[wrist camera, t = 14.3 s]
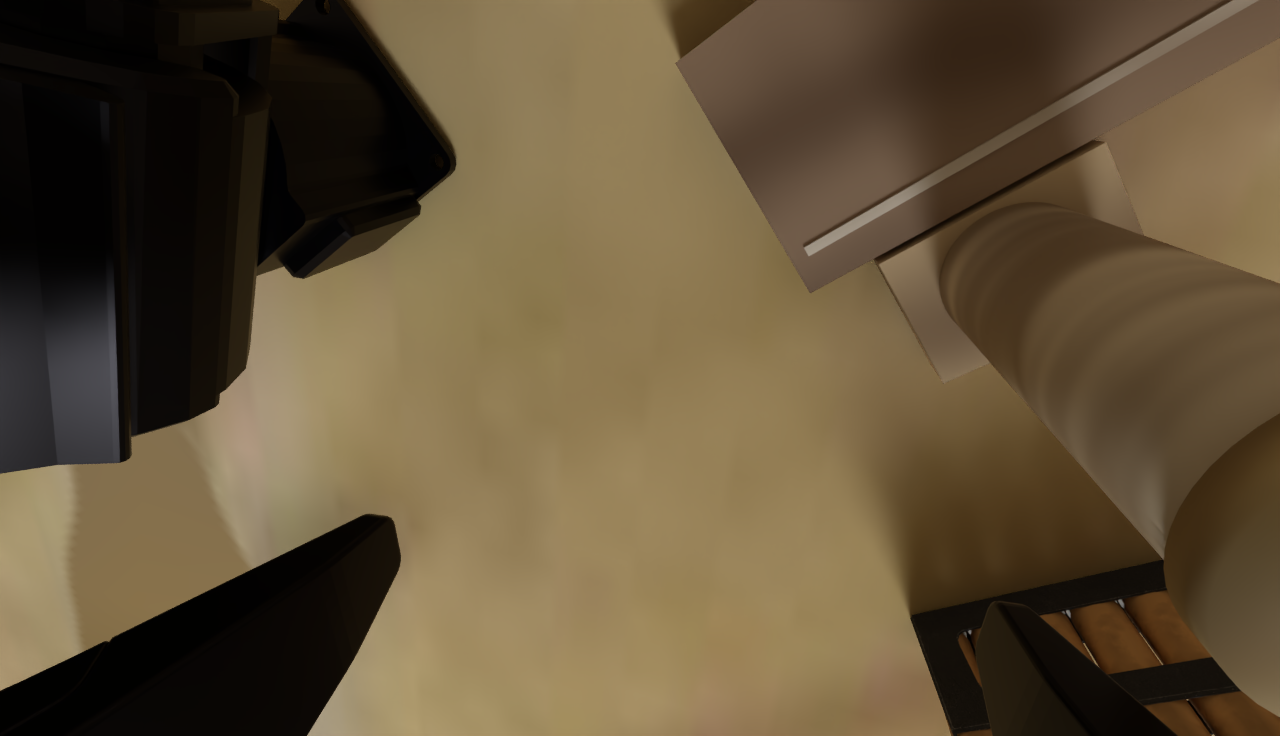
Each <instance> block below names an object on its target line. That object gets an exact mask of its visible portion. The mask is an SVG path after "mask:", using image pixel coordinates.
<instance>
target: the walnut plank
mask: <svg viewBox="0 0 1280 736" xmlns="http://www.w3.org/2000/svg"><path fill="white" fill-rule="evenodd" d="M1279 38H1280V0H756V1H755V2H754V3H753V4H751V5H750V6H749V7H747V8H746V9H745V10H744V11H742V12H741V13H740V14H738V15H737V16H736V17H734V18H733V19H732V20H731V21H729V22H728V23H727V24H725V25H724V26H723V27H721V28H720V29H719V30H718V31H716V32H715V33H714V34H712V35H711V36H710V37H708V38H707V39H706V40H705V41H703V42H702V43H701V44H699V45H698V46H697V47H696V48H694V49H693V50H692V51H690V52H689V53H688V54H686V55H685V56H684V57H683V58H681V59H680V60H679V61H677V62H676V63H675V64H676V65H677V67H678V69H679V70H680V72H681V74H682V76H683V77H684V79H685V81H686V82H687V84H688V86H689V87H690V89H691V91H692V93H693V94H694V96H695V98H696V99H697V101H698V103H699V105H700V106H701V108H702V110H703V111H704V113H705V115H706V116H707V118H708V120H709V122H710V123H711V125H712V127H713V128H714V130H715V132H716V134H717V135H718V137H719V139H720V140H721V142H722V144H723V145H724V147H725V149H726V151H727V152H728V154H729V156H730V157H731V159H732V161H733V163H734V164H735V166H736V168H737V169H738V171H739V173H740V174H741V176H742V178H743V180H744V181H745V183H746V185H747V186H748V188H749V190H750V192H751V193H752V195H753V197H754V198H755V200H756V202H757V203H758V205H759V207H760V209H761V210H762V212H763V214H764V215H765V217H766V219H767V221H768V222H769V224H770V226H771V227H772V229H773V231H774V232H775V234H776V236H777V238H778V239H779V241H780V243H781V244H782V246H783V248H784V250H785V251H786V253H787V255H788V256H789V258H790V260H791V261H792V263H793V265H794V267H795V268H796V270H797V272H798V273H799V275H800V277H801V279H802V280H803V282H804V284H805V285H806V287H807V289H808V290H809V292H810V293H812V292H813V291H815V290H817V289H819V288H821V287H823V286H824V285H826V284H828V283H830V282H832V281H834V280H835V279H837V278H839V277H841V276H843V275H845V274H846V273H848V272H850V271H852V270H854V269H856V268H858V267H859V266H861V265H863V264H865V263H867V262H869V261H870V260H872V259H874V258H876V257H878V256H880V255H881V254H883V253H885V252H887V251H889V250H891V249H892V248H894V247H896V246H898V245H900V244H902V243H904V242H905V241H907V240H909V239H911V238H913V237H915V236H916V235H918V234H920V233H922V232H924V231H926V230H927V229H929V228H931V227H933V226H935V225H937V224H938V223H940V222H942V221H944V220H946V219H948V218H950V217H951V216H953V215H955V214H957V213H959V212H961V211H962V210H964V209H966V208H968V207H970V206H972V205H973V204H975V203H977V202H979V201H981V200H983V199H984V198H986V197H988V196H990V195H992V194H994V193H995V192H997V191H999V190H1001V189H1003V188H1005V187H1007V186H1008V185H1010V184H1012V183H1014V182H1016V181H1018V180H1019V179H1021V178H1023V177H1025V176H1027V175H1029V174H1030V173H1032V172H1034V171H1036V170H1038V169H1040V168H1041V167H1043V166H1045V165H1047V164H1049V163H1051V162H1053V161H1054V160H1056V159H1058V158H1060V157H1062V156H1064V155H1065V154H1067V153H1069V152H1071V151H1073V150H1075V149H1076V148H1078V147H1080V146H1082V145H1084V144H1086V143H1087V142H1089V141H1091V140H1093V139H1095V138H1097V137H1099V136H1100V135H1102V134H1104V133H1106V132H1108V131H1110V130H1111V129H1113V128H1115V127H1117V126H1119V125H1121V124H1122V123H1124V122H1126V121H1128V120H1130V119H1132V118H1133V117H1135V116H1137V115H1139V114H1141V113H1143V112H1144V111H1146V110H1148V109H1150V108H1152V107H1154V106H1156V105H1157V104H1159V103H1161V102H1163V101H1165V100H1167V99H1168V98H1170V97H1172V96H1174V95H1176V94H1178V93H1179V92H1181V91H1183V90H1185V89H1187V88H1189V87H1190V86H1192V85H1194V84H1196V83H1198V82H1200V81H1202V80H1203V79H1205V78H1207V77H1209V76H1211V75H1213V74H1214V73H1216V72H1218V71H1220V70H1222V69H1224V68H1225V67H1227V66H1229V65H1231V64H1233V63H1235V62H1236V61H1238V60H1240V59H1242V58H1244V57H1246V56H1247V55H1249V54H1251V53H1253V52H1255V51H1257V50H1259V49H1260V48H1262V47H1264V46H1266V45H1268V44H1270V43H1271V42H1273V41H1275V40H1277V39H1279Z"/></svg>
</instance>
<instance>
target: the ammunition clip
mask: <svg viewBox="0 0 1280 736" xmlns="http://www.w3.org/2000/svg"><path fill="white" fill-rule="evenodd" d="M994 601H1003V602H1011V603H1018V604H1023V605H1026V606H1028V607H1029V608H1031V609H1032V610H1033V611H1034V612H1036V613H1037V614H1038V615H1039V616H1040V617H1041V618H1042V619H1044V620H1045V621H1046V622H1047V623H1048V624H1049V625H1051V626H1052V627H1053V628H1054V629H1055V630H1056V631H1058V632H1059V633H1060V634H1061V635H1062V636H1063V637H1065V638H1066V639H1067V640H1068V641H1069V642H1070V643H1071V644H1073V645H1074V646H1075V647H1076V648H1077V649H1078V650H1080V651H1081V652H1082V653H1083V654H1084V655H1085V656H1087V657H1088V658H1089V659H1090V660H1091V661H1092V662H1093V663H1094V661H1093V660H1092V658H1091V656H1090V654H1089V653H1088V651H1087V649H1086V648H1085V646H1084V644H1083V643H1085V644H1086V646H1087V648H1088V649H1089V651H1090V653H1091V654H1092V656H1093V658H1094V659H1095V661H1096V662H1097V664H1098V666H1099V667H1100V669H1102V670H1103V671H1104V672H1105V673H1106V674H1107V675H1109V676H1110V677H1111V678H1112V679H1113V680H1114V681H1115V682H1117V683H1118V684H1119V685H1120V686H1121V687H1122V688H1124V689H1125V690H1126V691H1127V692H1128V693H1129V694H1131V695H1132V696H1133V697H1134V698H1135V699H1136V700H1137V701H1139V702H1140V703H1141V704H1142V705H1143V706H1144V707H1146V708H1147V709H1148V710H1149V711H1150V712H1151V713H1153V714H1154V715H1155V716H1156V717H1157V718H1158V719H1159V720H1161V721H1162V722H1163V723H1164V724H1165V725H1166V726H1168V727H1169V728H1170V729H1171V730H1172V731H1173V732H1175V733H1176V734H1177V735H1178V736H1211V735H1212V734H1214V735H1215V736H1280V717H1278V716H1277V715H1275V714H1273V713H1272V712H1270V711H1268V710H1267V709H1265V708H1263V707H1262V706H1260V705H1258V704H1257V703H1256V702H1254V701H1253V700H1252V699H1251V698H1249V697H1248V696H1247V695H1246V694H1245V693H1243V692H1242V691H1241V690H1240V689H1239V688H1238V687H1237V686H1236V685H1235V684H1234V682H1233V681H1232V680H1231V679H1230V678H1229V677H1228V676H1227V674H1226V673H1225V672H1224V671H1223V670H1222V668H1221V667H1220V666H1219V665H1218V663H1217V662H1216V661H1215V660H1214V659H1213V657H1212V656H1211V655H1210V654H1209V652H1208V651H1207V650H1206V649H1205V647H1204V646H1203V645H1202V644H1201V643H1200V641H1199V640H1198V639H1197V638H1196V636H1195V635H1194V634H1193V633H1192V631H1191V630H1190V629H1189V628H1188V627H1187V625H1186V624H1185V623H1184V622H1183V620H1182V619H1181V617H1180V616H1179V614H1178V612H1177V611H1176V609H1175V607H1174V606H1173V604H1172V602H1171V599H1170V596H1169V593H1168V590H1167V588H1166V582H1165V575H1164V560H1160V561H1155V562H1151V563H1146V564H1141V565H1137V566H1132V567H1128V568H1123V569H1119V570H1114V571H1110V572H1105V573H1101V574H1096V575H1092V576H1087V577H1083V578H1078V579H1074V580H1069V581H1065V582H1060V583H1055V584H1051V585H1046V586H1042V587H1037V588H1033V589H1028V590H1024V591H1019V592H1015V593H1010V594H1006V595H1001V596H997V597H992V598H988V599H983V600H979V601H974V602H969V603H965V604H960V605H956V606H951V607H947V608H942V609H938V610H933V611H929V612H924V613H920V614H915V615H912V617H911V621H912V624H913V627H914V630H915V632H916V635H917V638H918V641H919V644H920V646H921V649H922V652H923V655H924V657H925V660H926V663H927V666H928V668H929V671H930V674H931V677H932V680H933V682H934V685H935V688H936V691H937V693H938V696H939V699H940V702H941V704H942V707H943V710H944V713H945V716H946V720H947V723H948V726H949V729H950V733H951V736H992V731H991V727H990V722H989V718H988V713H987V708H986V704H985V699H984V694H983V690H982V685H981V680H980V676H979V671H978V666H977V662H976V642H977V639H978V636H979V633H980V630H981V627H982V624H983V622H984V619H985V616H986V613H987V610H988V608H989V606H990V604H991V603H992V602H994ZM1140 633H1141V634H1142V636H1143V637H1144V638H1145V640H1146V641H1147V642H1148V644H1149V645H1150V647H1151V648H1152V649H1153V651H1154V652H1155V654H1156V655H1157V656H1158V658H1159V659H1160V660H1161V662H1162V663H1163V665H1161V663H1160V662H1159V660H1158V659H1157V657H1156V656H1155V655H1154V653H1153V652H1152V650H1151V649H1150V647H1149V646H1148V645H1147V643H1146V642H1145V640H1144V639H1143V637H1142V636H1141V635H1140ZM1186 699H1189V700H1188V701H1187V700H1186Z"/></svg>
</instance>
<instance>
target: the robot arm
mask: <svg viewBox="0 0 1280 736" xmlns="http://www.w3.org/2000/svg"><path fill="white" fill-rule="evenodd" d="M328 1H329V3H330V12H329V14H327V13H326V12H325V10H324V2H325V0H303V1H302V2H301V3H300V4H299V5H298V7H297V8H296V9H295V10H294V11H293V12H292V13H291V15H290V16H289V17H288V18H287V19H286V20H279V9H278V8H276V7H274V6H272V5H269V4H267V3H265V2H263V1H260V0H0V474H1V473H7V472H14V471H20V470H27V469H33V468H40V467H46V466H53V465H67V464H100V463H120V462H124V461H126V460H127V459H129V458H130V457H131V455H132V452H131V437H134V436H137V435H141V434H145V433H148V432H152V431H155V430H158V429H162V428H165V427H169V426H172V425H176V424H179V423H182V422H185V421H188V420H190V419H192V418H194V417H196V416H198V415H200V414H202V413H204V412H206V411H208V410H210V409H212V408H214V407H216V406H217V405H218V404H219V398H220V393H221V392H223V391H224V390H226V389H227V388H228V387H229V386H230V385H231V383H232V382H233V381H234V380H235V379H236V378H237V377H238V376H239V375H240V374H241V373H242V372H243V371H244V370H245V369H246V365H247V360H248V355H249V350H250V342H251V330H252V319H253V308H254V297H255V286H256V276H258V275H261V274H264V273H266V272H269V271H272V270H275V269H278V268H281V267H285V268H286V269H287V270H288V272H289V273H290V274H291V275H292V276H293V277H296V278H302V279H305V278H307V277H310V276H312V275H315V274H317V273H320V272H322V271H325V270H327V269H330V268H333V267H335V266H338V265H340V264H343V263H345V262H348V261H350V260H353V259H356V258H358V257H361V256H363V255H366V254H368V253H371V252H373V251H375V250H377V249H378V248H380V247H381V246H382V245H383V244H384V243H386V242H387V241H388V240H389V239H391V238H392V237H393V236H394V235H396V234H397V233H398V232H399V231H400V230H402V229H403V228H404V227H405V226H407V225H408V224H409V223H410V222H412V221H413V220H414V219H415V218H416V217H418V216H419V215H420V210H421V205H420V204H419V203H418V201H420V200H421V199H422V198H423V197H424V196H426V195H427V194H428V193H429V192H430V191H432V190H433V189H434V188H435V187H437V186H438V185H439V184H440V183H441V182H443V181H444V180H445V179H446V178H447V177H449V176H450V175H451V174H452V173H453V172H454V170H455V167H456V158H455V156H454V154H453V152H452V151H451V149H450V148H449V147H448V145H447V144H446V142H445V141H444V140H443V138H442V137H441V135H440V134H439V133H438V131H437V130H436V128H435V127H434V126H433V124H432V123H431V121H430V120H429V119H428V117H427V116H426V115H425V113H424V112H423V110H422V109H421V108H420V106H419V105H418V103H417V102H416V101H415V99H414V98H413V96H412V95H411V94H410V92H409V91H408V89H407V88H406V87H405V85H404V84H403V82H402V81H401V80H400V78H399V77H398V75H397V74H396V73H395V71H394V70H393V68H392V67H391V66H390V64H389V63H388V61H387V60H386V59H385V57H384V56H383V55H382V53H381V52H380V50H379V49H378V48H377V46H376V45H375V43H374V42H373V41H372V39H371V38H370V36H369V35H368V34H367V32H366V31H365V29H364V28H363V27H362V25H361V24H360V22H359V21H358V20H357V18H356V17H355V15H354V14H353V13H352V11H351V10H350V8H349V7H348V6H347V4H346V3H345V1H344V0H328ZM437 154H438V155H440V156H441V157H442V159H443V161H444V166H443V168H442V169H441V168H439V167H438V166H437V164H436V162H435V157H436V156H437ZM400 562H401V553H400V548H399V543H398V538H397V533H396V528H395V524H394V521H393V520H392V518H390V517H388V516H383V515H376V514H365V515H362V516H360V517H358V518H356V519H354V520H352V521H350V522H348V523H346V524H344V525H342V526H340V527H338V528H336V529H334V530H332V531H329V532H327V533H325V534H323V535H321V536H319V537H317V538H315V539H313V540H311V541H309V542H307V543H305V544H303V545H301V546H299V547H297V548H295V549H293V550H291V551H289V552H286V553H284V554H282V555H280V556H278V557H276V558H274V559H272V560H270V561H268V562H266V563H264V564H262V565H260V566H258V567H256V568H254V569H252V570H250V571H248V572H246V573H244V574H242V575H239V576H237V577H235V578H233V579H231V580H229V581H227V582H225V583H223V584H221V585H219V586H217V587H215V588H213V589H211V590H209V591H207V592H205V593H203V594H201V595H199V596H197V597H194V598H192V599H190V600H188V601H186V602H184V603H182V604H180V605H178V606H176V607H174V608H172V609H170V610H168V611H166V612H164V613H162V614H160V615H158V616H155V617H153V618H152V619H149V620H147V621H145V622H143V623H141V624H139V625H137V626H135V627H133V628H131V629H129V630H127V631H125V632H123V633H121V634H119V635H117V636H115V637H113V638H112V639H111V640H110V642H108V641H104V642H102V643H100V644H98V645H96V646H94V647H92V648H90V649H88V650H86V651H84V652H82V653H80V654H78V655H76V656H74V657H72V658H69V659H67V660H65V661H63V662H61V663H59V664H57V665H55V666H53V667H50V668H48V669H46V670H44V671H42V672H40V673H38V674H36V675H34V676H31V677H29V678H27V679H25V680H23V681H21V682H19V683H16V684H14V685H12V686H10V687H7V688H5V689H3V690H1V691H0V736H307V735H308V733H309V732H310V730H311V728H312V727H313V725H314V723H315V722H316V720H317V719H318V717H319V715H320V714H321V712H322V711H323V709H324V707H325V706H326V704H327V702H328V701H329V699H330V698H331V696H332V694H333V693H334V691H335V690H336V688H337V686H338V685H339V683H340V682H341V680H342V678H343V677H344V675H345V673H346V672H347V670H348V668H349V667H350V665H351V663H352V662H353V660H354V658H355V656H356V654H357V653H358V651H359V649H360V647H361V645H362V643H363V641H364V639H365V637H366V635H367V633H368V631H369V629H370V627H371V625H372V623H373V621H374V619H375V617H376V615H377V613H378V611H379V609H380V607H381V605H382V603H383V601H384V599H385V597H386V595H387V593H388V591H389V589H390V587H391V585H392V582H393V580H394V578H395V576H396V574H397V572H398V570H399V567H400ZM976 662H977V666H978V671H979V676H980V680H981V685H982V690H983V694H984V699H985V704H986V708H987V713H988V718H989V722H990V727H991V731H992V736H1178V735H1177V734H1176V733H1175V732H1173V731H1172V730H1171V729H1170V728H1169V727H1168V726H1166V725H1165V724H1164V723H1163V722H1162V721H1161V720H1159V719H1158V718H1157V717H1156V716H1155V715H1154V714H1153V713H1151V712H1150V711H1149V710H1148V709H1147V708H1146V707H1144V706H1143V705H1142V704H1141V703H1140V702H1139V701H1137V700H1136V699H1135V698H1134V697H1133V696H1132V695H1131V694H1129V693H1128V692H1127V691H1126V690H1125V689H1124V688H1122V687H1121V686H1120V685H1119V684H1118V683H1117V682H1115V681H1114V680H1113V679H1112V678H1111V677H1110V676H1109V675H1107V674H1106V673H1105V672H1104V671H1103V670H1102V669H1100V668H1099V667H1098V666H1097V665H1096V664H1095V663H1093V662H1092V661H1091V660H1090V659H1089V658H1088V657H1087V656H1085V655H1084V654H1083V653H1082V652H1081V651H1080V650H1078V649H1077V648H1076V647H1075V646H1074V645H1073V644H1071V643H1070V642H1069V641H1068V640H1067V639H1066V638H1065V637H1063V636H1062V635H1061V634H1060V633H1059V632H1058V631H1056V630H1055V629H1054V628H1053V627H1052V626H1051V625H1049V624H1048V623H1047V622H1046V621H1045V620H1044V619H1042V618H1041V617H1040V616H1039V615H1038V614H1037V613H1036V612H1034V611H1033V610H1032V609H1031V608H1029V607H1028V606H1026V605H1023V604H1018V603H1011V602H1003V601H994V602H992V603H991V604H990V606H989V608H988V610H987V613H986V616H985V619H984V622H983V624H982V627H981V630H980V633H979V636H978V639H977V642H976Z"/></svg>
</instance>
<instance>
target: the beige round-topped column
mask: <svg viewBox="0 0 1280 736" xmlns="http://www.w3.org/2000/svg"><path fill="white" fill-rule="evenodd" d="M874 261H875V263H876V265H877V266H878V268H879V270H880V272H881V274H882V276H883V278H884V279H885V281H886V283H887V285H888V287H889V289H890V290H891V292H892V294H893V296H894V298H895V300H896V301H897V303H898V305H899V307H900V309H901V311H902V312H903V314H904V316H905V318H906V320H907V322H908V323H909V325H910V327H911V329H912V331H913V333H914V334H915V336H916V338H917V340H918V342H919V344H920V345H921V347H922V349H923V351H924V353H925V355H926V356H927V358H928V360H929V362H930V364H931V365H932V367H933V368H934V370H935V371H936V373H937V374H938V376H939V378H940V379H941V381H942V382H943V384H944V383H946V382H948V381H951V380H953V379H955V378H958V377H960V376H962V375H964V374H967V373H969V372H971V371H973V370H976V369H978V368H980V367H982V366H985V365H987V364H989V363H991V364H992V365H993V366H994V367H995V369H996V370H997V371H998V372H999V373H1000V374H1001V375H1002V377H1003V378H1004V379H1005V380H1006V381H1007V382H1008V383H1009V385H1010V386H1011V387H1012V388H1013V389H1014V390H1015V391H1016V393H1017V394H1018V395H1019V396H1020V397H1021V398H1022V399H1023V400H1024V402H1025V403H1026V404H1027V405H1028V406H1029V407H1030V408H1031V410H1032V411H1033V412H1034V413H1035V414H1036V415H1037V416H1038V418H1039V419H1040V420H1041V421H1042V422H1043V423H1044V424H1045V426H1046V427H1047V428H1048V429H1049V430H1050V431H1051V432H1052V433H1053V435H1054V436H1055V437H1056V438H1057V439H1058V440H1059V441H1060V443H1061V444H1062V445H1063V446H1064V447H1065V448H1066V449H1067V451H1068V452H1069V453H1070V454H1071V455H1072V456H1073V457H1074V459H1075V460H1076V461H1077V462H1078V463H1079V464H1080V465H1081V466H1082V468H1083V469H1084V470H1085V471H1086V472H1087V473H1088V474H1089V476H1090V477H1091V478H1092V479H1093V480H1094V481H1095V482H1096V484H1097V485H1098V486H1099V487H1100V488H1101V489H1102V490H1103V491H1104V493H1105V494H1106V495H1107V496H1108V497H1109V498H1110V499H1111V501H1112V502H1113V503H1114V504H1115V505H1116V506H1117V507H1118V509H1119V510H1120V511H1121V512H1122V513H1123V514H1124V515H1125V517H1126V518H1127V519H1128V520H1129V521H1130V522H1131V523H1132V524H1133V526H1134V527H1135V528H1136V529H1137V530H1138V531H1139V532H1140V534H1141V535H1142V536H1143V537H1144V538H1145V539H1146V540H1147V542H1148V543H1149V544H1150V545H1151V546H1152V547H1153V548H1154V550H1155V551H1156V552H1157V553H1158V554H1159V555H1160V556H1161V557H1162V559H1163V560H1164V575H1165V582H1166V588H1167V590H1168V593H1169V596H1170V599H1171V602H1172V604H1173V606H1174V607H1175V609H1176V611H1177V612H1178V614H1179V616H1180V617H1181V619H1182V620H1183V622H1184V623H1185V624H1186V625H1187V627H1188V628H1189V629H1190V630H1191V631H1192V633H1193V634H1194V635H1195V636H1196V638H1197V639H1198V640H1199V641H1200V643H1201V644H1202V645H1203V646H1204V647H1205V649H1206V650H1207V651H1208V652H1209V654H1210V655H1211V656H1212V657H1213V659H1214V660H1215V661H1216V662H1217V663H1218V665H1219V666H1220V667H1221V668H1222V670H1223V671H1224V672H1225V673H1226V674H1227V676H1228V677H1229V678H1230V679H1231V680H1232V681H1233V682H1234V684H1235V685H1236V686H1237V687H1238V688H1239V689H1240V690H1241V691H1242V692H1243V693H1245V694H1246V695H1247V696H1248V697H1249V698H1251V699H1252V700H1253V701H1254V702H1256V703H1257V704H1258V705H1260V706H1262V707H1263V708H1265V709H1267V710H1268V711H1270V712H1272V713H1273V714H1275V715H1277V716H1278V717H1280V284H1279V283H1276V282H1274V281H1271V280H1268V279H1265V278H1262V277H1259V276H1257V275H1254V274H1251V273H1248V272H1245V271H1242V270H1240V269H1237V268H1234V267H1231V266H1228V265H1225V264H1223V263H1220V262H1217V261H1214V260H1211V259H1208V258H1206V257H1203V256H1200V255H1197V254H1194V253H1191V252H1189V251H1186V250H1183V249H1180V248H1177V247H1174V246H1172V245H1169V244H1166V243H1163V242H1160V241H1157V240H1155V239H1152V238H1149V237H1146V236H1144V234H1143V232H1142V229H1141V227H1140V224H1139V222H1138V219H1137V217H1136V214H1135V212H1134V209H1133V207H1132V205H1131V202H1130V200H1129V197H1128V195H1127V192H1126V190H1125V187H1124V185H1123V182H1122V180H1121V177H1120V175H1119V172H1118V170H1117V167H1116V165H1115V163H1114V160H1113V158H1112V155H1111V153H1110V150H1109V148H1108V145H1107V143H1106V142H1101V141H1092V140H1091V141H1089V142H1087V143H1086V144H1084V145H1082V146H1080V147H1078V148H1076V149H1075V150H1073V151H1071V152H1069V153H1067V154H1065V155H1064V156H1062V157H1060V158H1058V159H1056V160H1054V161H1053V162H1051V163H1049V164H1047V165H1045V166H1043V167H1041V168H1040V169H1038V170H1036V171H1034V172H1032V173H1030V174H1029V175H1027V176H1025V177H1023V178H1021V179H1019V180H1018V181H1016V182H1014V183H1012V184H1010V185H1008V186H1007V187H1005V188H1003V189H1001V190H999V191H997V192H995V193H994V194H992V195H990V196H988V197H986V198H984V199H983V200H981V201H979V202H977V203H975V204H973V205H972V206H970V207H968V208H966V209H964V210H962V211H961V212H959V213H957V214H955V215H953V216H951V217H950V218H948V219H946V220H944V221H942V222H940V223H938V224H937V225H935V226H933V227H931V228H929V229H927V230H926V231H924V232H922V233H920V234H918V235H916V236H915V237H913V238H911V239H909V240H907V241H905V242H904V243H902V244H900V245H898V246H896V247H894V248H892V249H891V250H889V251H887V252H885V253H883V254H881V255H880V256H878V257H876V258H874Z"/></svg>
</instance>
